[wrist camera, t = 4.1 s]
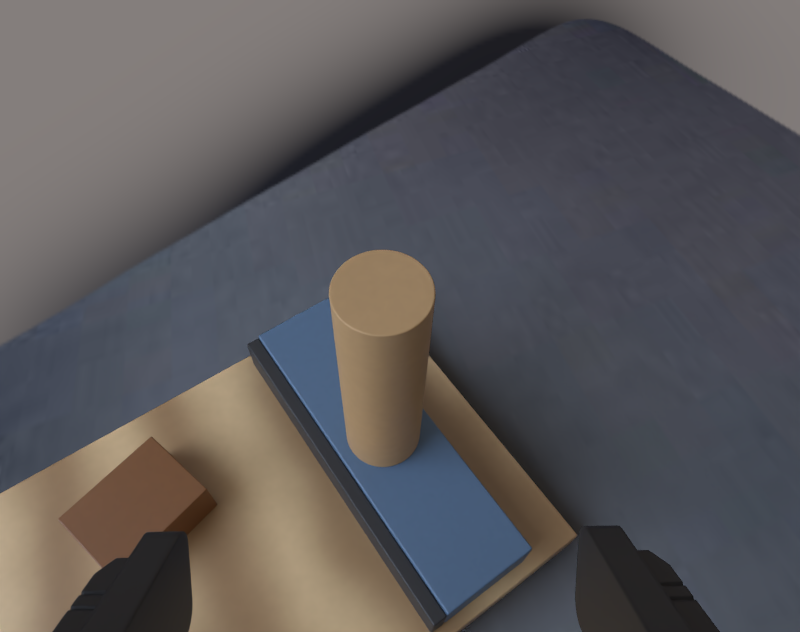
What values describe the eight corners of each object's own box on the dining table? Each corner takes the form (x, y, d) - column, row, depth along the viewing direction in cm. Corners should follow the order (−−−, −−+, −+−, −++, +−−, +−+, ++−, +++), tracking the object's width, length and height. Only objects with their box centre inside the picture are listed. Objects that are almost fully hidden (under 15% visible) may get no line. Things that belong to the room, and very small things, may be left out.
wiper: (336, 317, 32) (314, 123, 22) (524, 560, 26) (610, 446, 16) (253, 363, 31) (189, 178, 21) (430, 634, 25) (462, 557, 14)
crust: (164, 453, 28) (151, 435, 26) (218, 504, 27) (207, 488, 25) (77, 533, 26) (57, 519, 25) (130, 591, 25) (112, 580, 23)
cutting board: (373, 303, 34) (373, 287, 33) (569, 544, 28) (578, 534, 27) (-117, 578, 27) (-142, 570, 25) (-6, 1004, 20) (-32, 1021, 19)
